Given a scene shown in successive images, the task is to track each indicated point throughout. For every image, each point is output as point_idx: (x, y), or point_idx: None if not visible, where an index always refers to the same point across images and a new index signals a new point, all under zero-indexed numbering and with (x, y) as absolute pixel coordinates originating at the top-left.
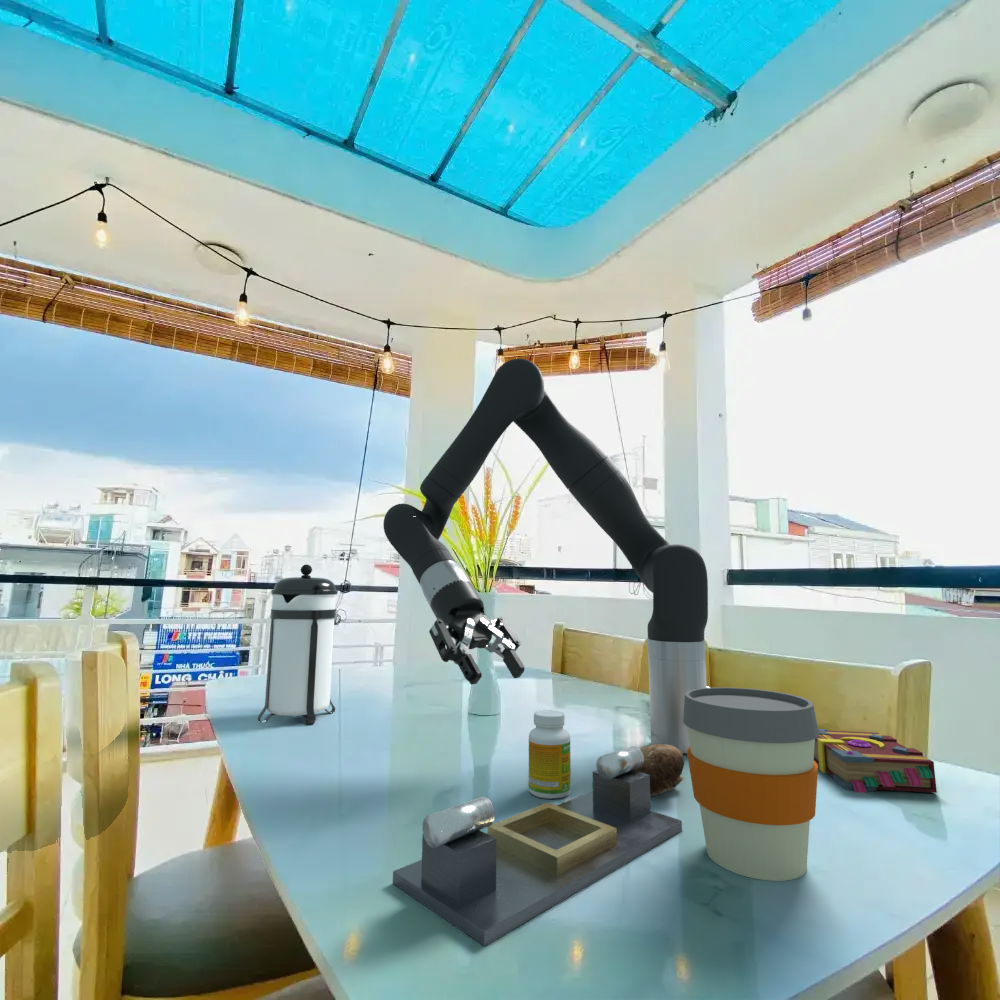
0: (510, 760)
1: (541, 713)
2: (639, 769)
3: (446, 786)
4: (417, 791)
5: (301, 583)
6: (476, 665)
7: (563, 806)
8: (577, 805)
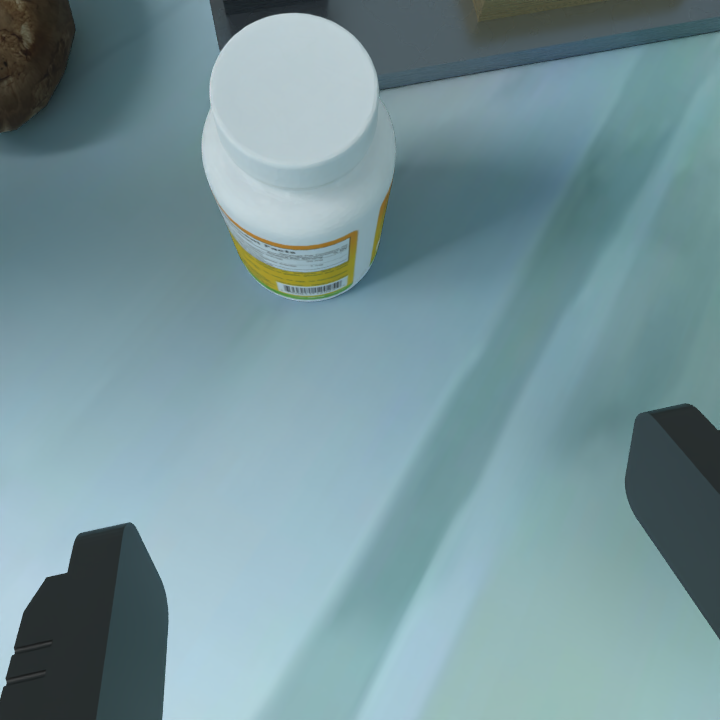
0: (218, 618)
1: (339, 98)
2: (44, 2)
3: (593, 465)
4: None
5: None
6: (711, 476)
7: (391, 56)
8: None
